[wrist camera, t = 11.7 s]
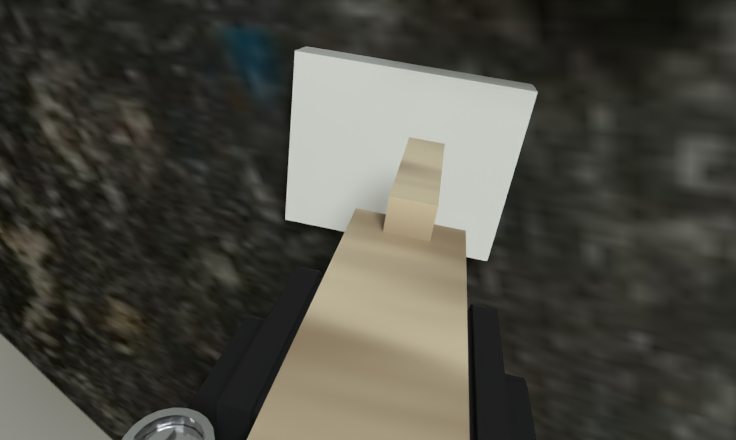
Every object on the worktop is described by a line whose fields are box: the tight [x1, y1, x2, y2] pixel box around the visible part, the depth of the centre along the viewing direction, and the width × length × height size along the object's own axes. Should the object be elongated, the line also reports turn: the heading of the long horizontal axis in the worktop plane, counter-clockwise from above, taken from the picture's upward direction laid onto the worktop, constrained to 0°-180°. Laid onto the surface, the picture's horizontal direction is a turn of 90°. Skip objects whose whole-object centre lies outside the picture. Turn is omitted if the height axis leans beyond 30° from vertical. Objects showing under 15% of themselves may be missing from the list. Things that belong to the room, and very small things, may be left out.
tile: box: [285, 46, 538, 261], centre depth 22 cm, size 8×2×10 cm
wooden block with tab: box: [247, 137, 470, 440], centre depth 11 cm, size 5×3×14 cm, turn 172°
